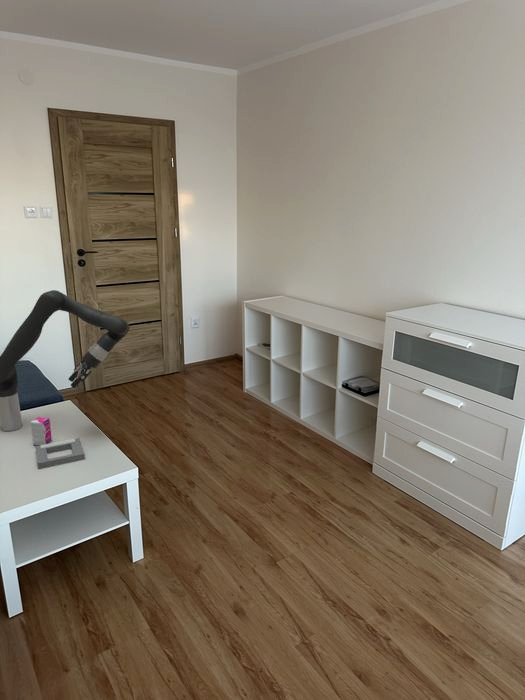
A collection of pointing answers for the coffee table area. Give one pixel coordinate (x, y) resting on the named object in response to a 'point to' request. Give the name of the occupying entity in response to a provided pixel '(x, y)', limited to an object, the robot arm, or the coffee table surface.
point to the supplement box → (41, 431)
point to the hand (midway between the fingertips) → (71, 383)
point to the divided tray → (59, 446)
